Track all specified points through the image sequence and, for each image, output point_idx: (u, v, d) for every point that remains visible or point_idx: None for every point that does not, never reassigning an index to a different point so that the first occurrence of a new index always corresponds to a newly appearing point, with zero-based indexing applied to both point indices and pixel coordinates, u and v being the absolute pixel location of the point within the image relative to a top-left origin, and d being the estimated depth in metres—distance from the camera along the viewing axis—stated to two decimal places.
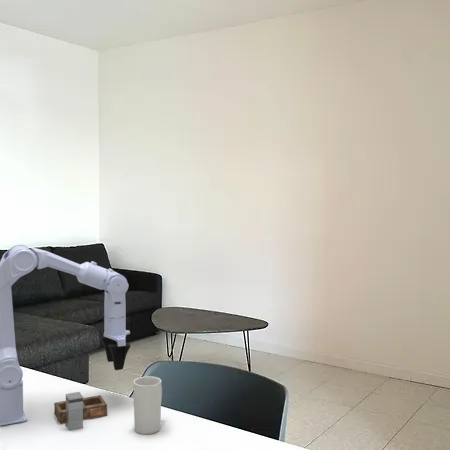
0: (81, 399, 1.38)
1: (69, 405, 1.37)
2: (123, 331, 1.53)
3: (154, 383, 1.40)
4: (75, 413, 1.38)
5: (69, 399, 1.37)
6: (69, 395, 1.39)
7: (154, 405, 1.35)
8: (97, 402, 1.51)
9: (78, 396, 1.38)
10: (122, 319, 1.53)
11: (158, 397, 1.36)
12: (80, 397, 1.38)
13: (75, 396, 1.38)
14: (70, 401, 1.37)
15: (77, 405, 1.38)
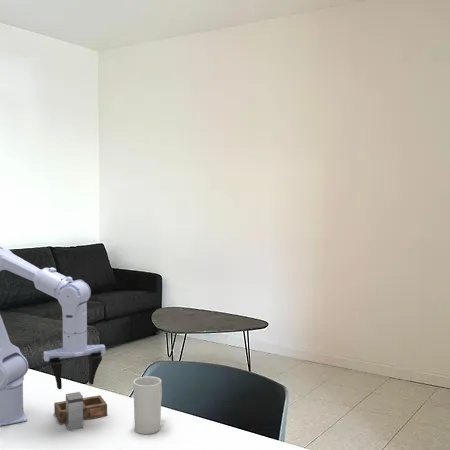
0: (81, 399, 1.38)
1: (69, 405, 1.37)
2: (67, 349, 1.35)
3: (154, 383, 1.40)
4: (75, 413, 1.38)
5: (69, 399, 1.37)
6: (69, 395, 1.39)
7: (154, 405, 1.35)
8: (97, 402, 1.51)
9: (78, 396, 1.38)
10: (65, 335, 1.35)
11: (158, 397, 1.36)
12: (80, 397, 1.38)
13: (75, 396, 1.38)
14: (70, 401, 1.37)
15: (77, 405, 1.38)
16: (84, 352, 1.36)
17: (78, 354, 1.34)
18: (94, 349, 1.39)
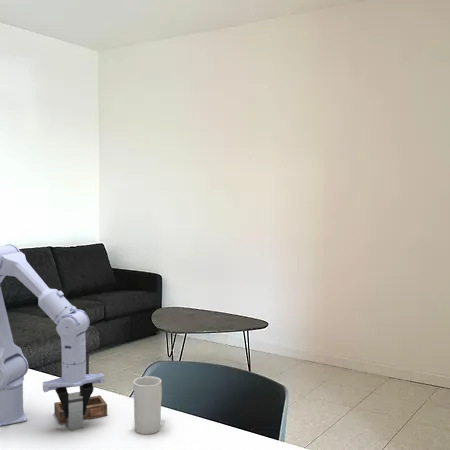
0: (81, 399, 1.38)
1: (69, 405, 1.37)
2: (66, 379, 1.36)
3: (154, 383, 1.40)
4: (75, 413, 1.38)
5: (69, 399, 1.37)
6: (69, 395, 1.39)
7: (154, 405, 1.35)
8: (97, 402, 1.51)
9: (78, 396, 1.38)
10: (64, 365, 1.36)
11: (158, 397, 1.36)
12: (80, 397, 1.38)
13: (75, 396, 1.38)
14: (70, 401, 1.37)
15: (77, 405, 1.38)
16: (83, 382, 1.37)
17: (77, 385, 1.35)
18: (93, 379, 1.39)
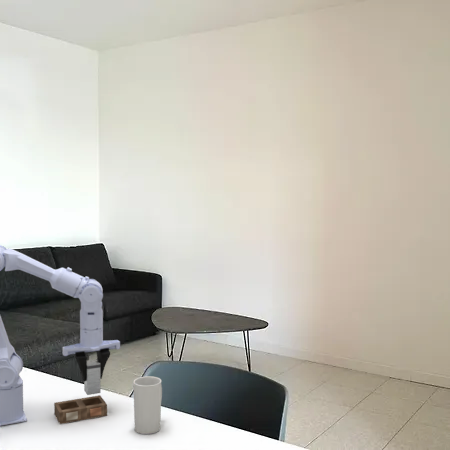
0: (99, 365, 1.46)
1: (87, 371, 1.45)
2: (84, 344, 1.44)
3: (154, 383, 1.40)
4: (93, 378, 1.45)
5: (87, 365, 1.44)
6: (87, 362, 1.46)
7: (154, 405, 1.35)
8: (97, 402, 1.51)
9: (96, 362, 1.46)
10: (83, 331, 1.44)
11: (158, 397, 1.36)
12: (98, 363, 1.46)
13: (93, 362, 1.46)
14: (88, 367, 1.45)
15: (95, 371, 1.45)
16: (100, 347, 1.45)
17: (95, 349, 1.43)
18: (110, 344, 1.47)
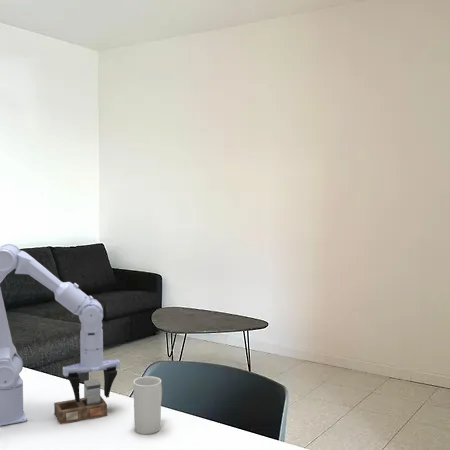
0: (99, 386, 1.46)
1: (87, 391, 1.45)
2: (84, 364, 1.44)
3: (154, 383, 1.40)
4: (93, 399, 1.46)
5: (87, 385, 1.45)
6: (87, 382, 1.47)
7: (154, 405, 1.35)
8: None
9: (96, 383, 1.46)
10: (83, 351, 1.44)
11: (158, 397, 1.36)
12: (98, 384, 1.46)
13: (93, 383, 1.46)
14: (88, 387, 1.45)
15: (95, 392, 1.46)
16: (100, 367, 1.45)
17: (95, 369, 1.43)
18: (110, 364, 1.47)
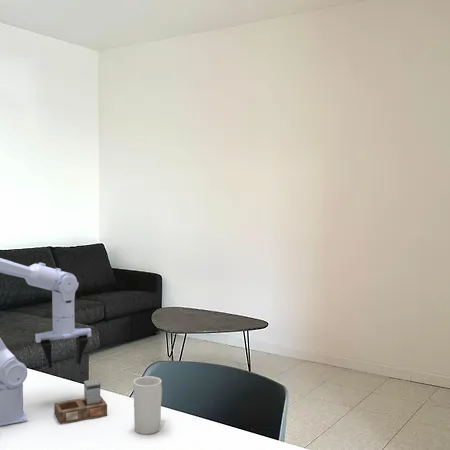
0: (99, 386, 1.46)
1: (87, 391, 1.45)
2: (56, 331, 1.51)
3: (154, 383, 1.40)
4: (93, 399, 1.46)
5: (87, 385, 1.45)
6: (87, 382, 1.47)
7: (154, 405, 1.35)
8: None
9: (96, 383, 1.46)
10: (55, 319, 1.51)
11: (158, 397, 1.36)
12: (98, 384, 1.46)
13: (93, 383, 1.46)
14: (88, 387, 1.45)
15: (95, 392, 1.46)
16: (72, 334, 1.52)
17: (66, 336, 1.50)
18: (81, 332, 1.54)
